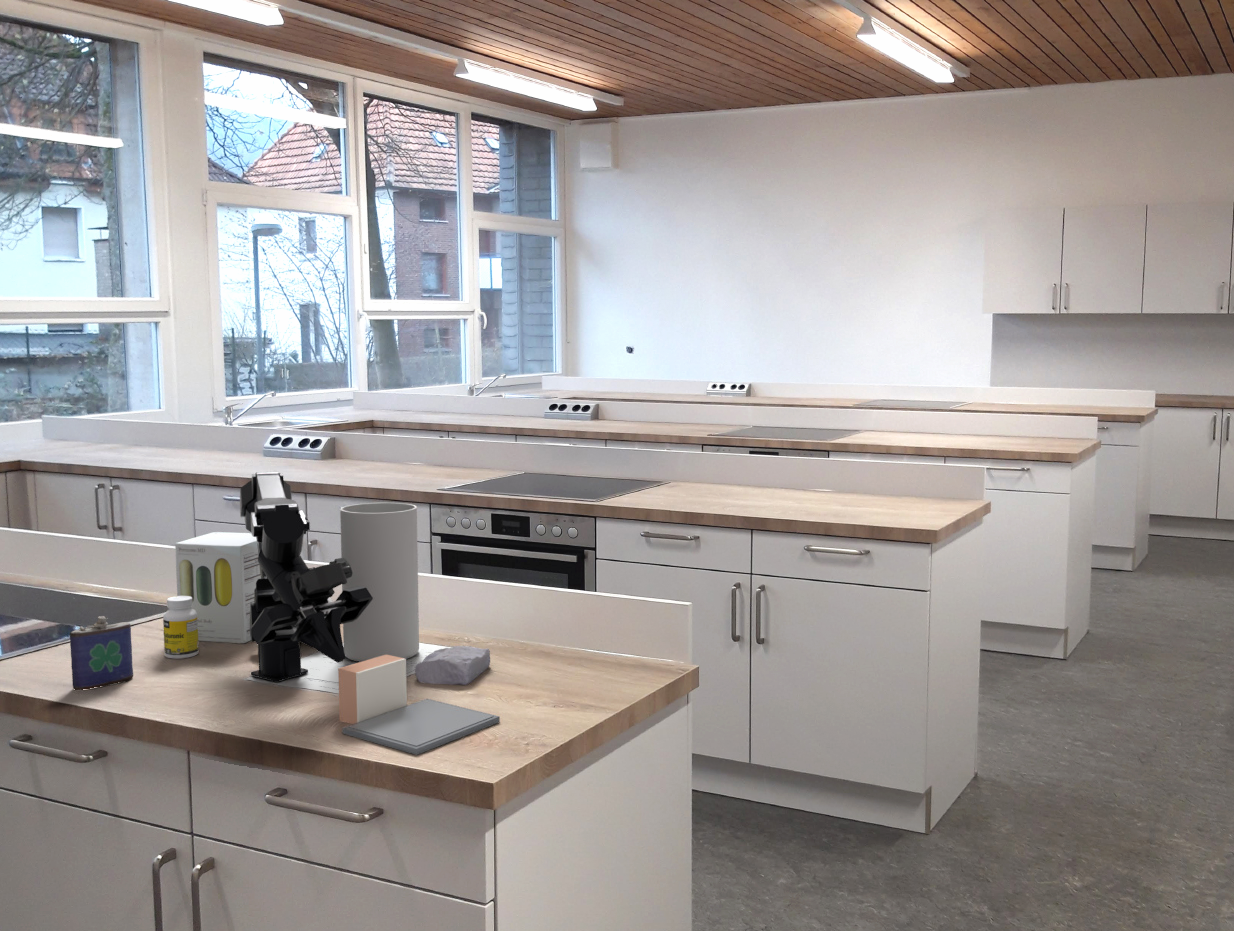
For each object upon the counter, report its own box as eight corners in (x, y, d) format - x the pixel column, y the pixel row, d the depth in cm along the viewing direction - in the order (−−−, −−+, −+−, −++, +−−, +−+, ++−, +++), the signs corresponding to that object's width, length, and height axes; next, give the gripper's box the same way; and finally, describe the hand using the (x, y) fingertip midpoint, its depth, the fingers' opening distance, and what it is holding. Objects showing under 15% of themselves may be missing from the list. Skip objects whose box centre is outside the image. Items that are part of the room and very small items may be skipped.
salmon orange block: (339, 720, 163) (338, 668, 162) (387, 704, 170) (386, 654, 170) (359, 726, 161) (358, 673, 160) (406, 709, 168) (405, 658, 167)
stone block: (412, 694, 181) (472, 686, 179) (406, 664, 181) (466, 655, 179) (439, 676, 193) (496, 667, 191) (433, 648, 193) (490, 639, 191)
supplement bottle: (157, 657, 195) (155, 599, 194) (180, 649, 200) (178, 593, 199) (183, 660, 193) (180, 602, 192) (205, 652, 198) (203, 596, 197)
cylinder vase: (378, 641, 206) (375, 500, 203) (434, 650, 200) (432, 506, 197) (327, 657, 195) (324, 509, 193) (384, 668, 189) (381, 515, 186)
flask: (129, 676, 185) (126, 609, 183) (137, 679, 183) (134, 612, 181) (69, 688, 178) (66, 620, 177) (77, 692, 176) (74, 623, 175)
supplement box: (176, 640, 207) (172, 542, 205) (217, 623, 220) (214, 530, 218) (244, 644, 204) (241, 545, 202) (281, 626, 217) (279, 533, 215)
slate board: (342, 733, 158) (342, 726, 157) (427, 703, 170) (427, 697, 170) (416, 754, 149) (416, 748, 149) (499, 722, 162) (499, 715, 162)
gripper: (261, 551, 162) (315, 641, 157) (363, 533, 177) (416, 615, 172) (227, 600, 168) (279, 688, 162) (329, 578, 183) (380, 658, 177)
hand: (341, 660), depth 168 cm, fingers closed
